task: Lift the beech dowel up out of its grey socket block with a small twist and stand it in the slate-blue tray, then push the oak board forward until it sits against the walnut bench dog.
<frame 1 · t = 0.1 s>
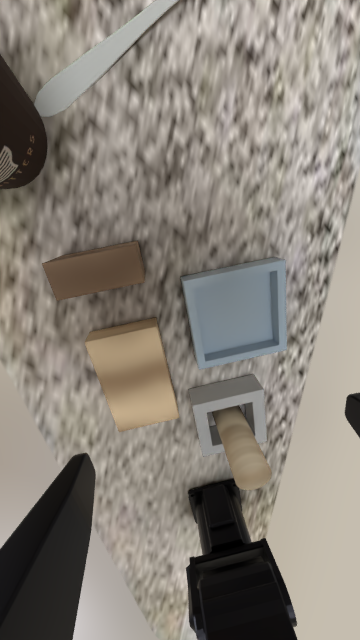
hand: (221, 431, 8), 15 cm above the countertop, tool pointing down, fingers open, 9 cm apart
dowel: (236, 436, 23), in the socket block
tray: (232, 311, 23), on the countertop
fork: (153, 27, 15), on the countertop, touching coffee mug
bench dog: (105, 263, 20), on the countertop
board: (137, 368, 24), on the countertop
socket block: (224, 407, 27), on the countertop
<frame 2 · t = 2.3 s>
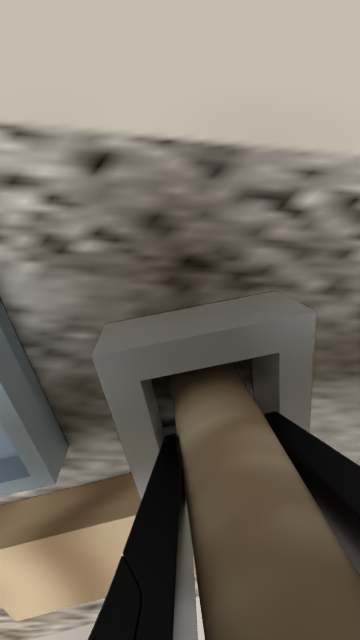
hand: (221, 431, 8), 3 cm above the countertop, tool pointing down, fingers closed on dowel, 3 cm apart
dowel: (230, 457, 7), in the socket block, touching gripper
board: (100, 511, 14), on the countertop
socket block: (203, 379, 11), on the countertop
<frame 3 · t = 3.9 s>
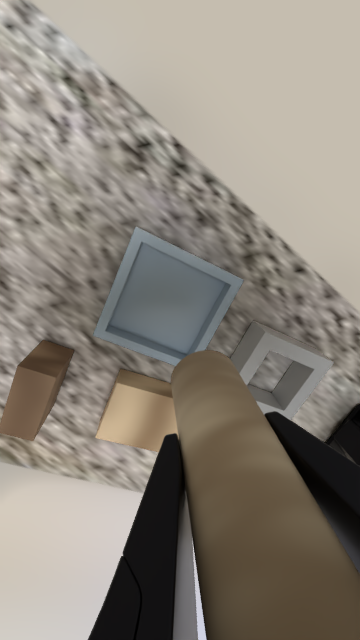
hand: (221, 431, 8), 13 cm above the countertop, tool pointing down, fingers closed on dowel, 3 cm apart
dowel: (231, 458, 7), point 14 cm above the countertop, touching gripper
tray: (166, 301, 20), on the countertop
bench dog: (48, 374, 21), on the countertop
board: (160, 406, 24), on the countertop
socket block: (264, 366, 23), on the countertop
when the fingers open (5 cm above the countertop, at t = 5.6 s): dowel drops 1 cm, resting on tray.
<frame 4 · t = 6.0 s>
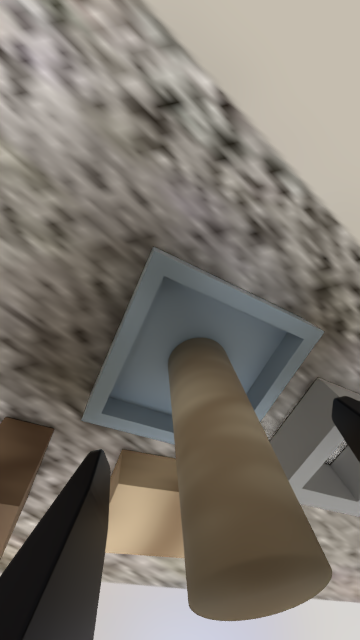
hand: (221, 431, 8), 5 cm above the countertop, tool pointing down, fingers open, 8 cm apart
dowel: (216, 429, 9), in the tray, point 5 cm above the countertop
tray: (194, 356, 13), on the countertop
bench dog: (17, 461, 14), on the countertop
board: (179, 487, 17), on the countertop
socket block: (326, 434, 16), on the countertop
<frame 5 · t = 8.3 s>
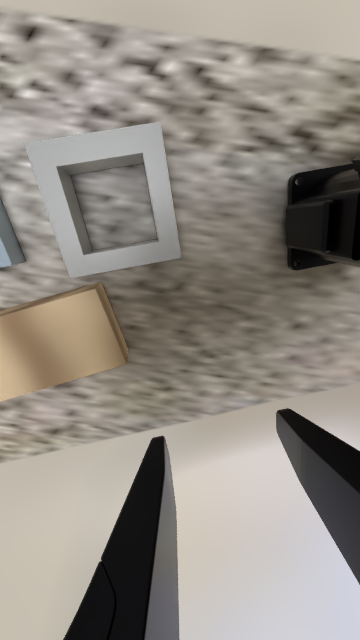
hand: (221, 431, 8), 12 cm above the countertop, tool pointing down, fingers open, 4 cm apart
board: (55, 334, 19), on the countertop
socket block: (116, 209, 16), on the countertop
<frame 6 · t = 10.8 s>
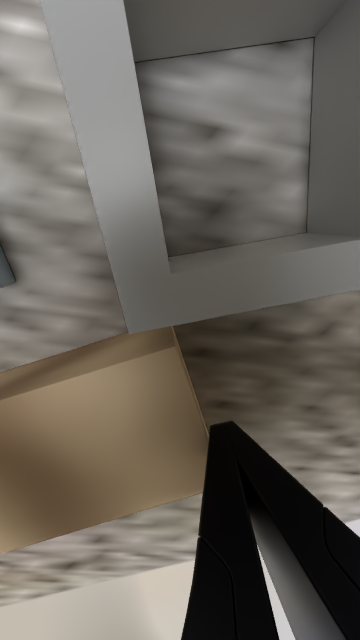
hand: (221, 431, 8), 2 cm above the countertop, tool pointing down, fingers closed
board: (74, 415, 10), on the countertop, touching gripper
socket block: (230, 160, 7), on the countertop
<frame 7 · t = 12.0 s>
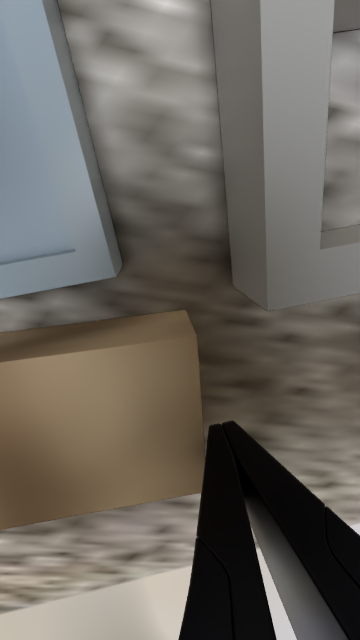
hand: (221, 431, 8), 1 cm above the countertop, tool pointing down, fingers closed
board: (60, 396, 9), on the countertop
socket block: (345, 141, 7), on the countertop
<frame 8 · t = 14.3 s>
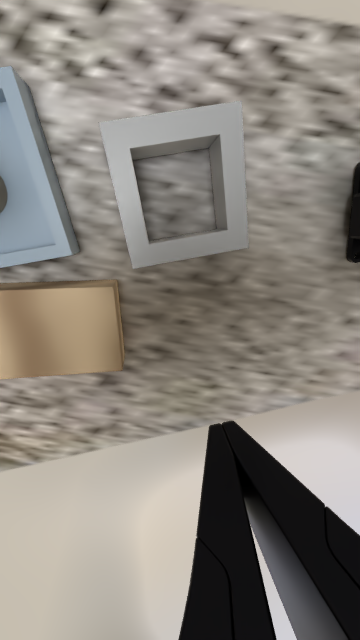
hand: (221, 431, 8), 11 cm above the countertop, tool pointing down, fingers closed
board: (52, 321, 18), on the countertop
socket block: (177, 196, 15), on the countertop
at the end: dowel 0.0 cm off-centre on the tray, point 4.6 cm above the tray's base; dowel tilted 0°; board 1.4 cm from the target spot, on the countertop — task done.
